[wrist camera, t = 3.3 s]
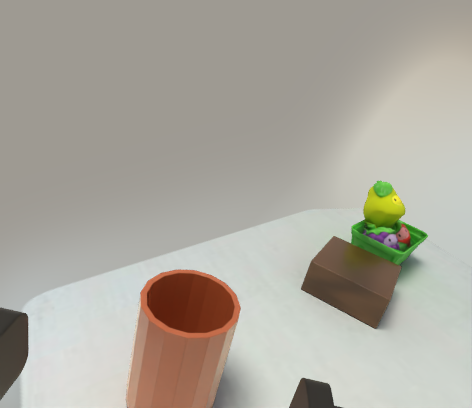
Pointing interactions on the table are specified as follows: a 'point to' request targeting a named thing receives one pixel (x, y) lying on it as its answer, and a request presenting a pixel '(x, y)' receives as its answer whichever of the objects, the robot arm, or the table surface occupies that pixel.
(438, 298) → the table surface
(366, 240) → the fruit basket
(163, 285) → the cup
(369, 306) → the block
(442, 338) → the table surface
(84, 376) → the table surface
